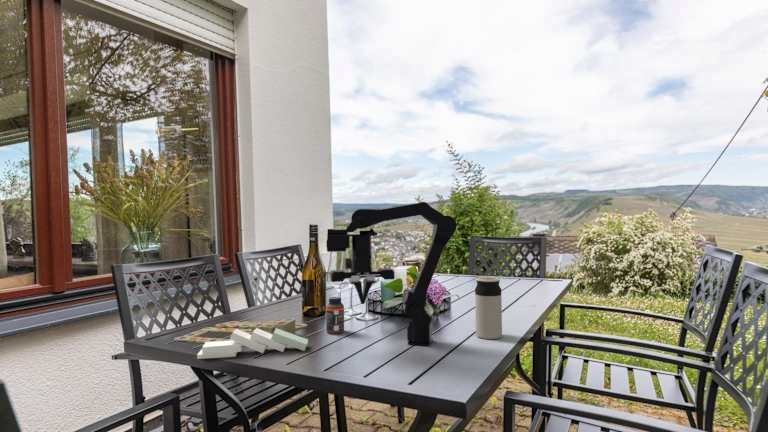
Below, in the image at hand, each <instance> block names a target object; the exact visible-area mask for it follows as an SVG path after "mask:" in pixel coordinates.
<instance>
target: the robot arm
mask: <svg viewBox="0 0 768 432" xmlns="http://www.w3.org/2000/svg"><path fill="white" fill-rule="evenodd" d="M417 216H421V217H422V218H423V219H425V220H426V221H427V222H428V223H430V224H431V225H432V226H433V227H432V232H431V241H430V245H429V247H428V249H427V252H426V255H425V257H424V260H423V263H422V266H421V268H420V270H419V273H418V276H417V279H416V280H415V284H414V285H413V286H412V288H411V289H410V288H405V289H406V290H405V295H404V296H403V298H402V299H401V301H402V308H403V310H404V311H403V312H405V315H406V316H407V317H408V318H409V319H410V320H409V321H408V326H407V327H406V333H407V334H406V335H407V336H406V337H407V338H406V340H407V344H408V345H414V346H426V347H427V346H430V345H431V344H432V342H433V341H434V338H433V335H432V333H433V332H432V319H433V318H432V316H431V315H430V313H429V312H428V310H426V302H427V295H428V289H429V287H430V285H431V282H432V279H433V276H434V274H435V272H436V269H437V267H438V264H439V261H440V259H441V257H442V254H443V251H444V248H445V246H446V245H447V244H448V243H449V241H450V240H451V239H452V237H453V235H454V234H455V232H456V231H457V228H458V223H457V221H456V219H455V218H454V217H452V216H450V215H444V214H443V213H441V212H440V211H438V210H437V209H435V208H434V207H432V206H431V205H429V203H428V202H426V201H419V202H418V203H412V204H408V205H407V204H405V205H400V206H394V207H388V208H381V209H380V208H377V209H376V208H375V209H374V208H373V209H371V208H368V209H367V208H359V209H357V210H355V211H354V212H353V213H352V215H351V222H350V223H349V225H348V226H346V229H345V228H344V229H334V228H328V229H327V234H326V235H327V236H326V252H327V253H337V252H344V253H345V252H347V249H350V248H351V255H352V256H351V257H350V258H347V257H346V258H344V269H331V270H330V271H329V281H331V282H332V283H336V282H338V283H340V282H341V283H342V282H344V281H345V280H346V279H348V282H349V283H350V284H351V285H354V288H355V290H356V292H357V295H358V299H359V301H360V304H361V305H365V303H366V299H367V297H368V294H369V292H370V290H371V287H372V285H374V284H376V282H377V281H376V280H375V279H376V278H382V279H384V280H386V281H387V280H395V278H396V277H395V276H396V275H395V270H393V268H390V267H386V268H385V267H380V268H377V269H378V270H372V269H373V267H372V265H373V264H372V260H373V259H372V237H377V236H378V233H377V232H376V231H375V230H374V228H373V227H372V226H374V225H377V224H380V223H383V222H387V221H393V220H398V219H399V220H400V219H404V218H405V219H406V218H411V217H412V218H413V217H417ZM369 227H371V228H370V229H369V230H362V229H366V228H369ZM359 229H360V230H359ZM356 230H359V233H353V232H355V231H356ZM350 237H351V239H350ZM345 270H350V271H345ZM362 278H363V279H362ZM361 279H362V281H361ZM362 284H363V285H362Z"/></svg>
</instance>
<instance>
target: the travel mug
mask: <svg viewBox="0 0 768 432" xmlns="http://www.w3.org/2000/svg"><path fill="white" fill-rule="evenodd" d="M475 281H476V286H475V288H474V295H475V297H474V298H475V299H474V301H475V302H474V304H475V306H474V307H475V309H474V310H475V312H474V313H475V336H476V337H478V338H479V339H484V340H498V339H500V338H502V337H503V323H502V322H503V319H502V317H503V313H502V312H503V311H502V310H503V309H502V308H503V306H502V305H503V304H502V301H503V299H502V288H501V286H500V281H501V278H499V277H493V276H481V277H479V276H478V277H476V278H475Z"/></svg>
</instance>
